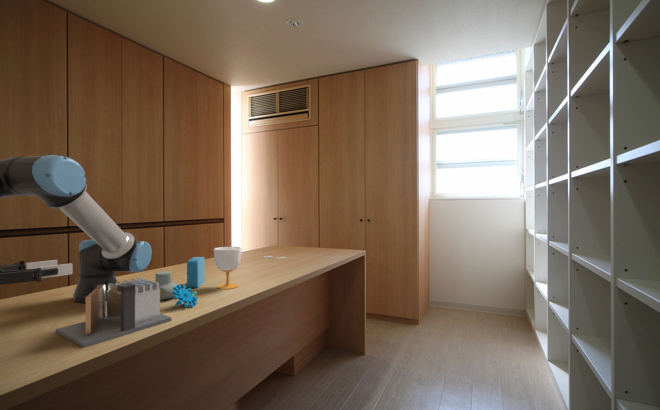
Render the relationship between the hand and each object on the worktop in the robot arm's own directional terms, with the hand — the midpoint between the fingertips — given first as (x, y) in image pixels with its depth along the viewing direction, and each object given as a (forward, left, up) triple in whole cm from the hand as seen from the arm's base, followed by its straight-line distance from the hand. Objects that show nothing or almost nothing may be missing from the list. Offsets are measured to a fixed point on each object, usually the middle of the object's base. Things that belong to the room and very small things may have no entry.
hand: (64, 266), depth 90 cm
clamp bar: (-3, +9, -18) cm, 21 cm away
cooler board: (-1, +13, -20) cm, 24 cm away
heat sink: (-1, +18, -20) cm, 27 cm away
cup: (-12, +64, -20) cm, 69 cm away
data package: (-26, +58, -20) cm, 67 cm away
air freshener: (-18, +38, -20) cm, 47 cm away
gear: (-2, +37, -20) cm, 43 cm away
